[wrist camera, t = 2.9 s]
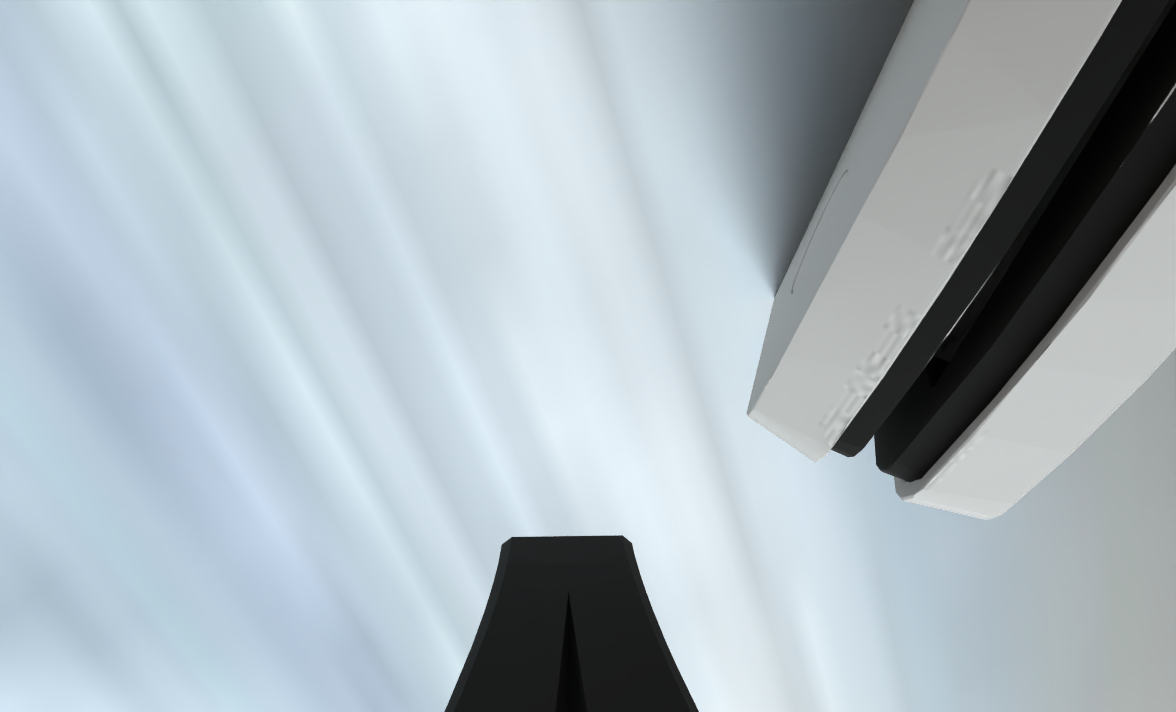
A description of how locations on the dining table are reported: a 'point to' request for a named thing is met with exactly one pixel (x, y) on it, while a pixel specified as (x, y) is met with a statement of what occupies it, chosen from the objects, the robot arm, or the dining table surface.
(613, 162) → the dining table surface
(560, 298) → the dining table surface
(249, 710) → the dining table surface
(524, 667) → the robot arm
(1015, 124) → the white zipper pouch
